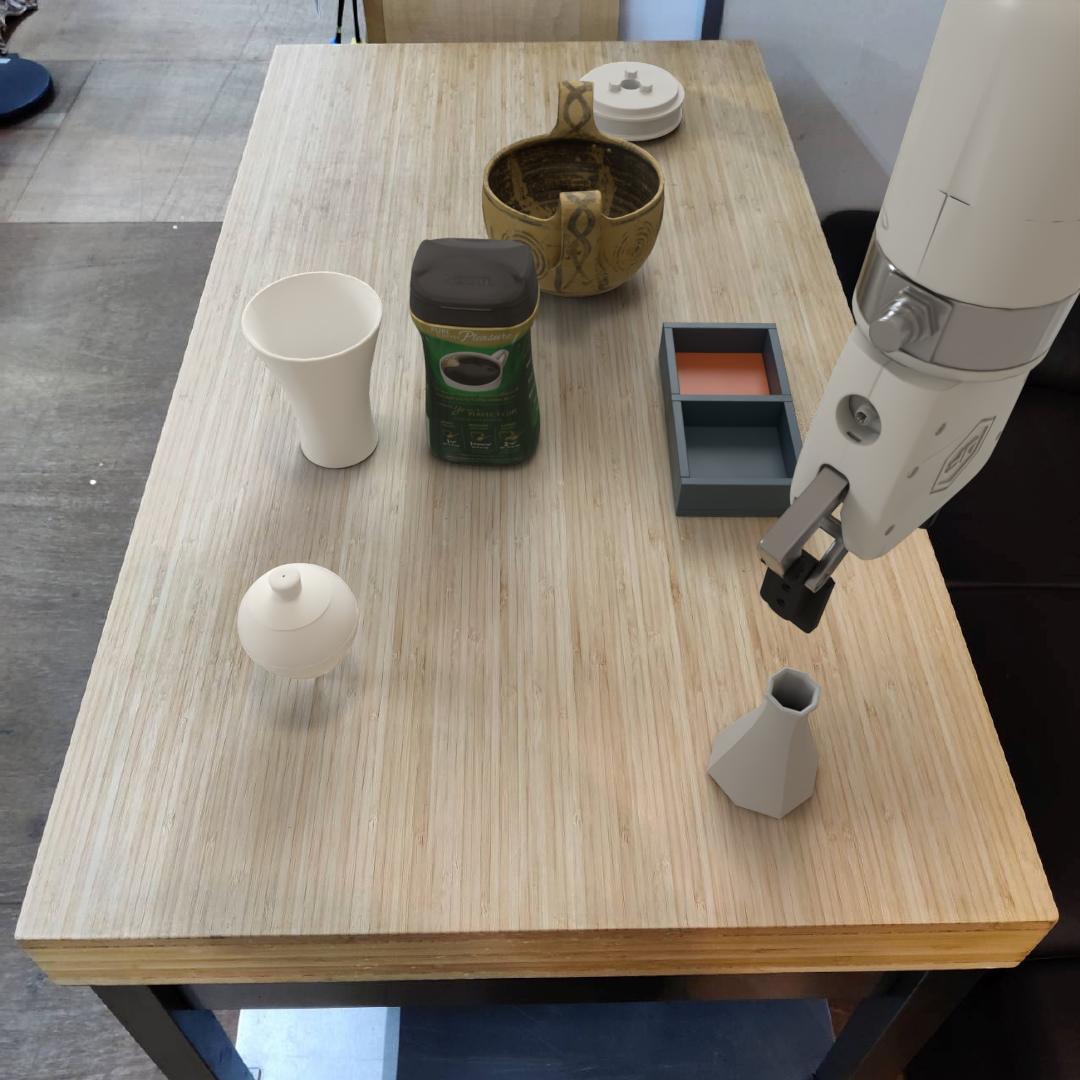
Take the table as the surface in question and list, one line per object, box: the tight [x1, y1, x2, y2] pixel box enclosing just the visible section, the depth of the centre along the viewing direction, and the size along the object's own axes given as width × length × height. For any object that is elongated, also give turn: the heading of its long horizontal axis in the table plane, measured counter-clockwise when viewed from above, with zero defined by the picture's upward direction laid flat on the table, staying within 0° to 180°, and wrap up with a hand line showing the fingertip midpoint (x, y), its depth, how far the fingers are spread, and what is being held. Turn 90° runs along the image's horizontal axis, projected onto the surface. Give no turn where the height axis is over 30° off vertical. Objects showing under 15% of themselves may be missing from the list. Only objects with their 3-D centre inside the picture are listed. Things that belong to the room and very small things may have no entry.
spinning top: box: [236, 562, 359, 681], centre depth 65 cm, size 8×8×12 cm
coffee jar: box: [408, 237, 541, 467], centre depth 77 cm, size 10×8×19 cm
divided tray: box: [658, 321, 804, 518], centre depth 83 cm, size 19×10×4 cm, turn 0°
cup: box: [240, 270, 384, 469], centre depth 78 cm, size 10×10×14 cm
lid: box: [578, 61, 686, 142], centre depth 115 cm, size 13×13×5 cm
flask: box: [706, 665, 823, 820], centre depth 61 cm, size 7×7×10 cm
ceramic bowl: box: [481, 79, 666, 298], centre depth 92 cm, size 22×17×15 cm
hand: (847, 560), depth 50 cm, fingers open, 9 cm apart
